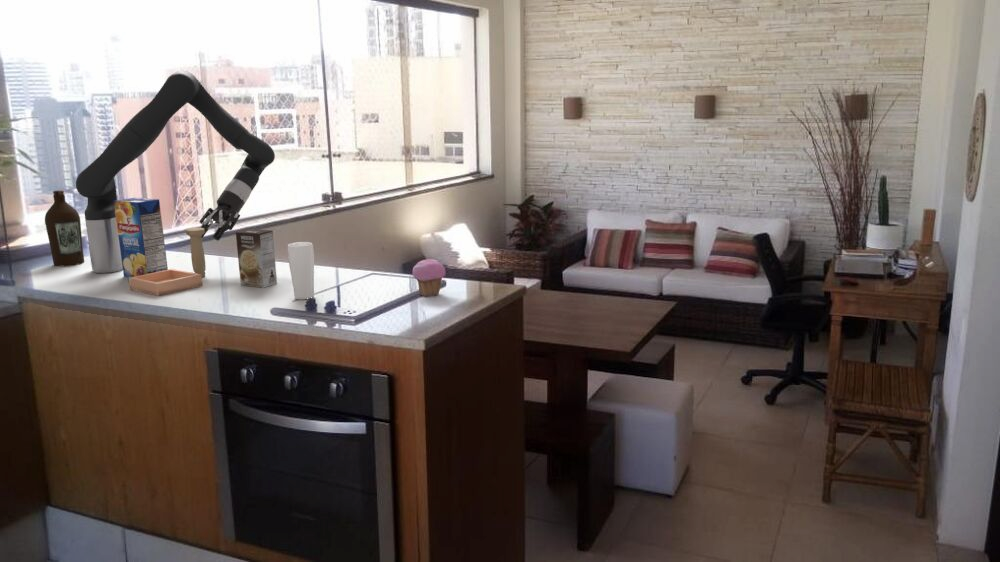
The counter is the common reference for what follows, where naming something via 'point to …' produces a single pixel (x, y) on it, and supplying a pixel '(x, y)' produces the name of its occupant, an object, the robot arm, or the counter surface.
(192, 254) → the handle
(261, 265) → the coffee box
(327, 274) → the counter surface
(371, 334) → the counter surface
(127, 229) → the juice carton
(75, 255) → the olive oil
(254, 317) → the counter surface
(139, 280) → the tray
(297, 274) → the drinking glass
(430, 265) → the cupcake
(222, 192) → the robot arm
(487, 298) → the counter surface
